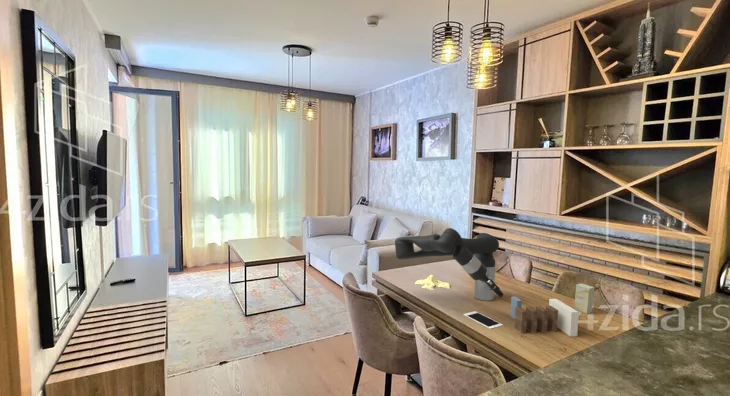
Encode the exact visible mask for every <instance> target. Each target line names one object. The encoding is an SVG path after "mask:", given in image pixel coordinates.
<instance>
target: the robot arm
mask: <svg viewBox="0 0 730 396" xmlns="http://www.w3.org/2000/svg"><path fill="white" fill-rule="evenodd" d="M394 245H395V246H394V247H395V249H394V250H395V257H396V259H398V260H411V259H420V258H426V257H427V258H429V257H444V256H445V257H447V256H452V258H453V259H454V260H455V261H456V262H457V263H458V264H459V265H460V266H461V268H462V269H463V270H464V271H465V272H466V273H467V275H468V276H470V277H471V278H472V279H473V280H474V299H478V300H480V301H487V302H488V301H494V299H495V294H496V295H497V296H498V297H499V298H502V297H503V296H504V295H505V293H503V291H502V290H501V288H500V287H499V286H498V285H497V283H496V282H495V281H496V259H495V258H494V254H493V253H495V252H496V251H497V250H499V248H500V243H499V240H498V238H496V237H495V236H494V235H492V234H489V233H487V232H481V233H479V234H478V235H477V236H476V238H465V237H464V238H463V237H462V236H461V234H460V233H459V232H458V231H457V230H455V228H451V227H449V228H448V227H447V228H446V229H444V231H443V232H442V234H441V235H440V234H437V233H435V234H428V235H422V236H421V235H420V236H419V235H413V236H410V235H409V236H408V235H407V236H400V237H397V238H395V240H394ZM414 245H415V246H417V247H418V248H419V249H420V250H418V251H415V246H414Z"/></svg>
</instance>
